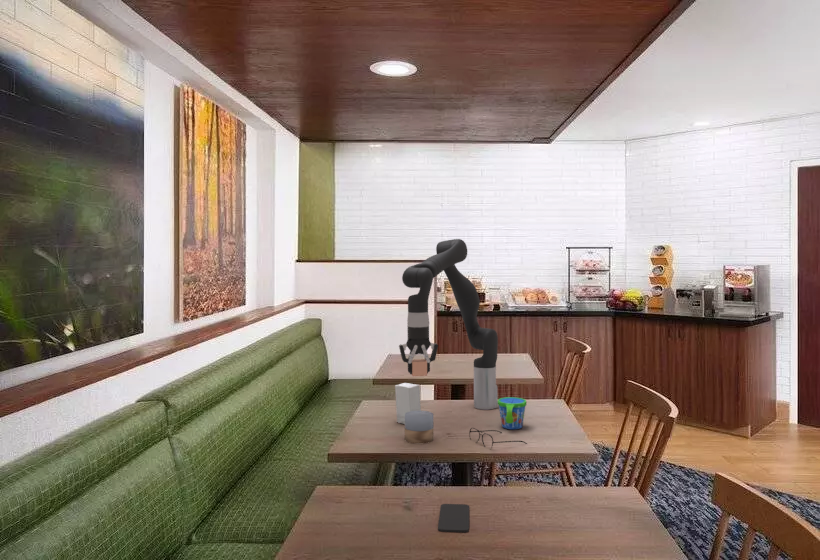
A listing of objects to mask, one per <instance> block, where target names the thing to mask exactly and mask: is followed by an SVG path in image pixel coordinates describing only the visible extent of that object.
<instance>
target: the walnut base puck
mask: <svg viewBox="0 0 820 560" xmlns="http://www.w3.org/2000/svg"><path fill="white" fill-rule="evenodd" d="M404 440H406V441H405V442H406V443H409V442H410V444H414V443H423V444H427V443H428V442H429V443H431V442H433V441H434V428H433V429H431V430H427V431H411V430H407V429H406V428H405V427H404Z"/></svg>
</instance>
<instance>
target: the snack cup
mask: <svg viewBox="0 0 820 560" xmlns="http://www.w3.org/2000/svg"><path fill="white" fill-rule="evenodd" d="M526 406H527V400H526V399H525V398H523V397H522V398H521V397H516V396H515V397H513V396H510V397H509V396H508V397H506V396H505V397H501V398H498V409H499V417H500V422H501V426H502V428H504V429H506V430H519V429H521V428H522V427H524V426H523V424H524V419H525V412H526V411H525V410H526Z"/></svg>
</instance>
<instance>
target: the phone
mask: <svg viewBox="0 0 820 560" xmlns="http://www.w3.org/2000/svg"><path fill="white" fill-rule="evenodd" d="M439 509H440V511H439V516H438V522H437V523H438V524H437V531H438V532H441V533H460V534H461V533H462V534H463V533H469V531H470V505H468V504H464V503H461V504H459V503H442V504H441V505H440V508H439Z"/></svg>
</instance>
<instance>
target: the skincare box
mask: <svg viewBox="0 0 820 560" xmlns="http://www.w3.org/2000/svg"><path fill="white" fill-rule="evenodd" d="M394 391H395V407H396V408H395V410H396V423H397V422H398V424H401V425H402V424H403V425H405V413H407V412H410V411H422V409H421V393H420V384H415V383H414V384H413V383H408V382H403V383H399V384H395V385H394Z"/></svg>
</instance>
